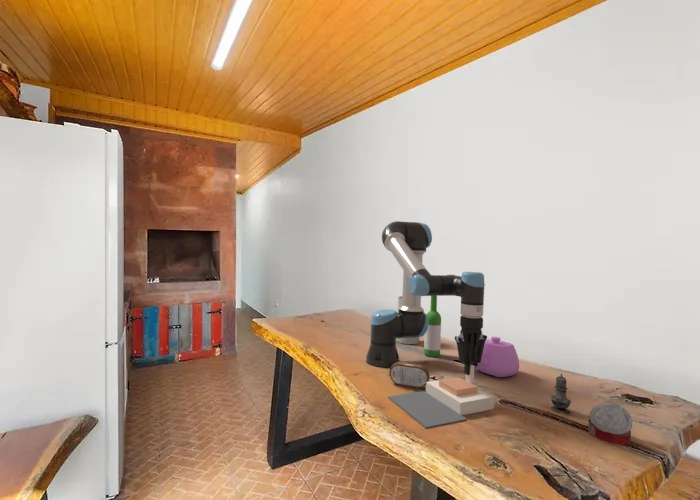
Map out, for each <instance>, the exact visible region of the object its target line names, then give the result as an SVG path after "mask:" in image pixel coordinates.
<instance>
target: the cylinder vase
mask: <svg viewBox="0 0 700 500" xmlns="http://www.w3.org/2000/svg"><path fill="white" fill-rule="evenodd" d="M401 305H402V296H397V313H398V312H399V307H400V306H401ZM396 342H398V343H399V344H401V345H402V344H403V345H408V344H413V345H417V344H419V342H420V337H416V338H397V339H396Z"/></svg>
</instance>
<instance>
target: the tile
mask: <svg viewBox="0 0 700 500" xmlns="http://www.w3.org/2000/svg"><path fill="white" fill-rule="evenodd" d="M444 379H445V380H444ZM444 379H438V380H439V386H440V387H441V388H443V389H445V390H446V391H448V392H450V393H452V394H453V395H455V396H461V395H467V394H473V393H478V389H479V388H478V386H477V385H475V384H474V385H473V384H471V383H469V382H467V381H465V379H463V378H461V377H452V379H451V378H444Z"/></svg>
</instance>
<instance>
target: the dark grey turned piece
mask: <svg viewBox="0 0 700 500" xmlns="http://www.w3.org/2000/svg"><path fill="white" fill-rule="evenodd" d="M555 380H556V381H555V386H554V388H555V394H554V395H551V396H550V399H551V404H553V405H552V406H551V410H552V411H553V410H554V412H555V411H556V412H555V413H557V414H558V413H559V414H562V415H568V414H570V413H571V411H570V410H569V409H568V408H569V407H570V405H571V404H572V401H571V399H570V398H567V397H568V396H567V391H568V388H567V378H566V377H564V376H563V374H562V373H561V374H560V376H556V378H555Z"/></svg>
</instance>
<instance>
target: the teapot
mask: <svg viewBox="0 0 700 500" xmlns="http://www.w3.org/2000/svg"><path fill="white" fill-rule="evenodd" d="M477 359H478V358H477ZM477 364H478V366H476V370H477V371H479V372H481V373H485V374H487V375H491V376H493V377H495V378H507V377H512V376H514V375H516V374H517V373H518V371H519V370H520V361H519V357H518V354H517V350H516V348H515V346H514V344H513V343H510V342H507V341H503V340H501V337H499V336H491V338H487V339H486V341H485V344H484V348H483V353H482V358H481V362H480V363H477Z"/></svg>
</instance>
